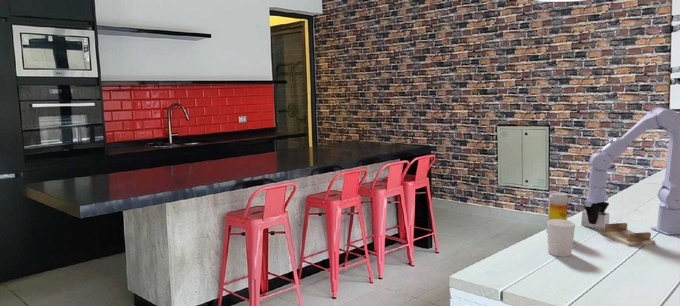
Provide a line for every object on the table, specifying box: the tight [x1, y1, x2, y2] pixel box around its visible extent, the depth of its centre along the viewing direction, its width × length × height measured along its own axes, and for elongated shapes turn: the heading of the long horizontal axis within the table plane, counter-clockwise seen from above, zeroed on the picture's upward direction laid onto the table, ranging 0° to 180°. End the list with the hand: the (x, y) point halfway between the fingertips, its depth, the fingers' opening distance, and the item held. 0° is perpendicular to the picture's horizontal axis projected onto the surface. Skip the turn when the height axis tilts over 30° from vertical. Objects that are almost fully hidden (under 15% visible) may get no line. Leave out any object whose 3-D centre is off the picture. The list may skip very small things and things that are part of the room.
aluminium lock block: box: [580, 209, 610, 230], centre depth 193 cm, size 4×8×6 cm, turn 40°
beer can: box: [546, 191, 569, 235], centre depth 182 cm, size 6×6×15 cm
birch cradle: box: [599, 222, 656, 247], centre depth 180 cm, size 10×14×4 cm
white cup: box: [547, 219, 576, 258], centre depth 165 cm, size 8×8×10 cm
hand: (595, 222), depth 193 cm, fingers closed on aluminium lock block, 4 cm apart
